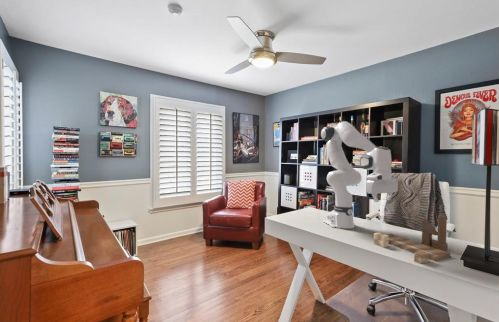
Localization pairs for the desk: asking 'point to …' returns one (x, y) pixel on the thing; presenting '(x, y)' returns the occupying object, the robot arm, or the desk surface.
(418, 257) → the stop block
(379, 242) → the gauge block
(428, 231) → the brown wooden upright frame
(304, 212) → the desk surface
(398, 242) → the board
